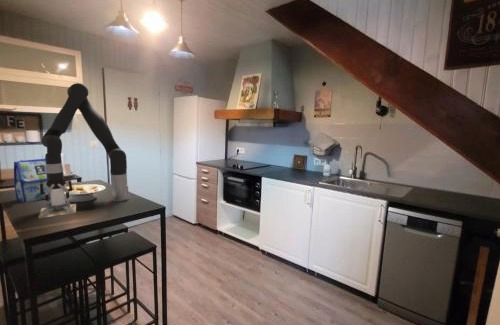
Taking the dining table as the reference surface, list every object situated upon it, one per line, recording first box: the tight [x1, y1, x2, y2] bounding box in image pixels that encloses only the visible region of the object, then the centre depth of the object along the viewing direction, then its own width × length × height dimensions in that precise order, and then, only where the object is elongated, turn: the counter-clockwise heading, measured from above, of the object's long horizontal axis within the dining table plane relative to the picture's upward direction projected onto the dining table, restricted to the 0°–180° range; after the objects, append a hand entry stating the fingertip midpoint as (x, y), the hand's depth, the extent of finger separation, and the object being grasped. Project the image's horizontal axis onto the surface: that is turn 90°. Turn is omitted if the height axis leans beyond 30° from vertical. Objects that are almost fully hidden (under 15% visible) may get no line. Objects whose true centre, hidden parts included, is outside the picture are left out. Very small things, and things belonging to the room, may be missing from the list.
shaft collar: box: [42, 200, 72, 216], centre depth 141 cm, size 12×17×3 cm
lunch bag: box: [13, 158, 51, 204], centre depth 165 cm, size 22×17×26 cm
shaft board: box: [37, 203, 77, 219], centre depth 141 cm, size 16×18×2 cm
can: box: [49, 188, 66, 206], centre depth 143 cm, size 6×6×12 cm
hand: (57, 199), depth 143 cm, fingers open, 8 cm apart
